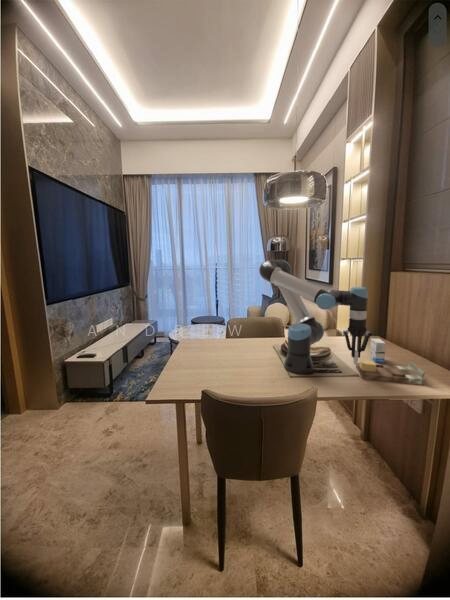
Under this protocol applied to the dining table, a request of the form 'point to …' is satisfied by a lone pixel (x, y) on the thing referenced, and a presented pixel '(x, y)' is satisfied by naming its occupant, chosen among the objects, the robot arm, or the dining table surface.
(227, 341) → the dining table surface
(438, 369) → the dining table surface
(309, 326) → the robot arm
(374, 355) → the ink box
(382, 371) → the board
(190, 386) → the dining table surface
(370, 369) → the ochre block
